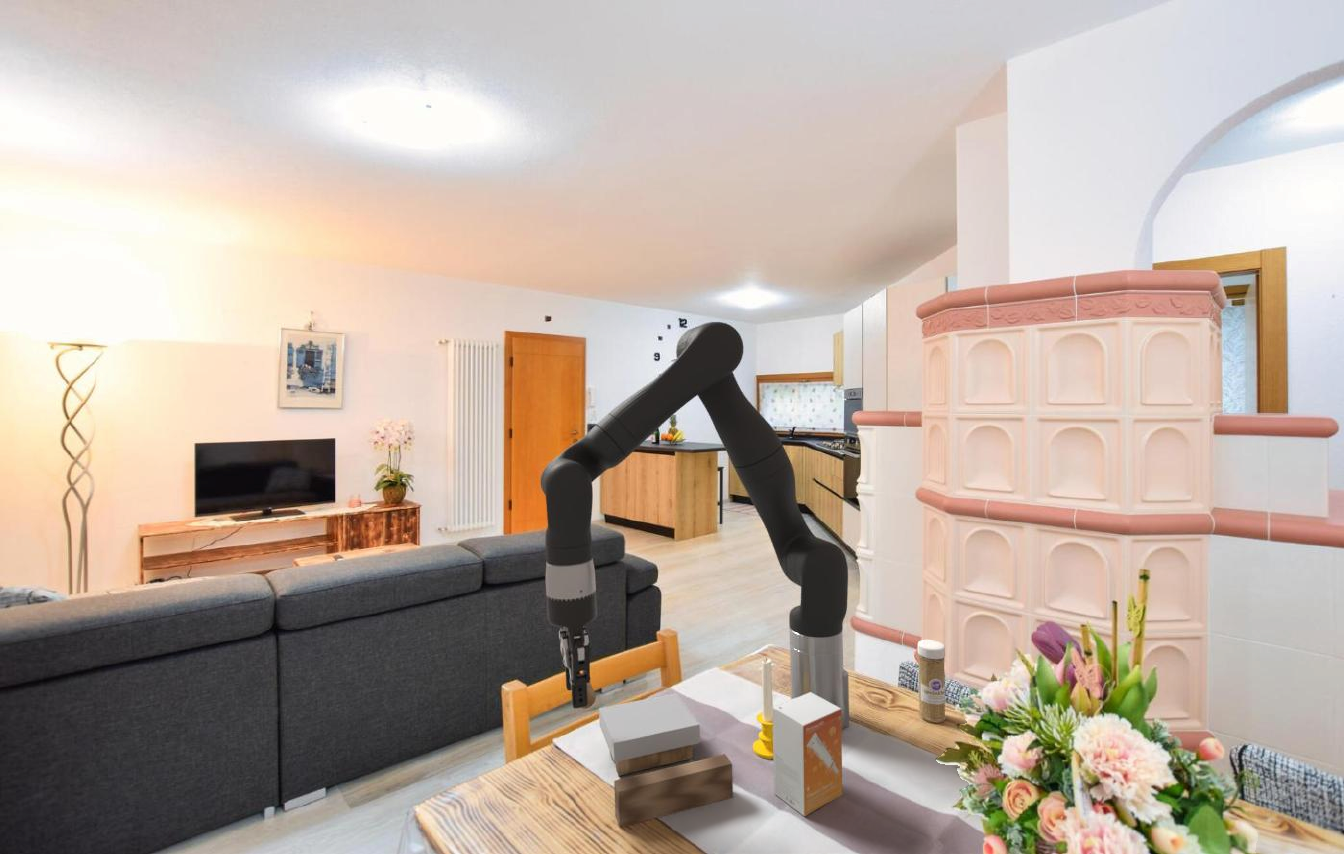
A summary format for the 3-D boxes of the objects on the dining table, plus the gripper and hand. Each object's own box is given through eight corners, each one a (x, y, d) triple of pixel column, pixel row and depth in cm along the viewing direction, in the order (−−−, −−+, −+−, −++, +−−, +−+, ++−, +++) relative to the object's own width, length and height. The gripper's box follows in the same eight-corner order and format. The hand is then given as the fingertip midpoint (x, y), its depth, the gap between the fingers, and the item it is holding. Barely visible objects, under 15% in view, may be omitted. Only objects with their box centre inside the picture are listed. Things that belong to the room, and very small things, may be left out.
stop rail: (725, 786, 87) (724, 753, 87) (732, 796, 85) (731, 763, 84) (615, 815, 82) (614, 780, 81) (619, 827, 79) (618, 791, 79)
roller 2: (685, 750, 96) (684, 730, 96) (693, 762, 93) (692, 741, 93) (615, 767, 92) (614, 745, 92) (620, 780, 89) (619, 758, 89)
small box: (804, 818, 80) (802, 725, 79) (772, 793, 85) (770, 706, 85) (844, 795, 84) (842, 707, 84) (811, 773, 90) (809, 690, 89)
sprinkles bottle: (928, 725, 102) (927, 650, 101) (913, 712, 106) (912, 640, 106) (951, 721, 103) (950, 647, 102) (935, 709, 107) (934, 637, 107)
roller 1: (566, 686, 92) (577, 669, 92) (581, 695, 92) (592, 678, 93) (571, 702, 86) (583, 684, 87) (587, 711, 87) (599, 694, 88)
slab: (677, 709, 103) (676, 692, 103) (699, 742, 93) (699, 724, 92) (599, 725, 98) (598, 708, 98) (614, 762, 88) (613, 743, 88)
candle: (759, 761, 93) (757, 665, 92) (748, 743, 98) (746, 652, 98) (789, 756, 94) (787, 662, 94) (777, 738, 99) (775, 649, 99)
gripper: (605, 599, 83) (610, 714, 84) (586, 573, 97) (591, 672, 97) (552, 607, 81) (558, 726, 81) (541, 579, 94) (546, 681, 95)
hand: (576, 696), depth 89 cm, fingers closed on roller 1, 5 cm apart
